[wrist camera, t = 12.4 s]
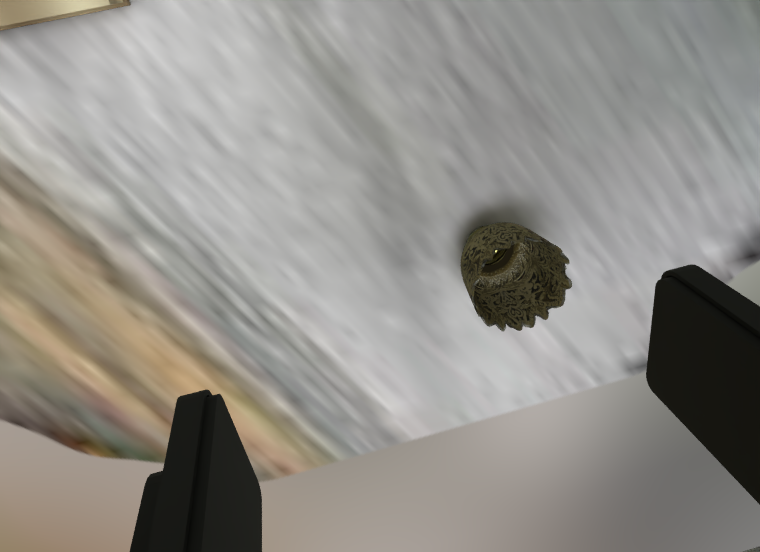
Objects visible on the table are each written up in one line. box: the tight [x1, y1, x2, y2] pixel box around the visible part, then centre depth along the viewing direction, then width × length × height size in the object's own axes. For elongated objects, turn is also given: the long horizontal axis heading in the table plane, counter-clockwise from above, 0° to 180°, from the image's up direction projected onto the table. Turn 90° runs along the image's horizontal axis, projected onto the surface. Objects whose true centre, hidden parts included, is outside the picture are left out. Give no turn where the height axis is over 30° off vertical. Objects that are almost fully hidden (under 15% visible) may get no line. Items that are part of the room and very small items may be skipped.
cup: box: [461, 223, 572, 331], centre depth 42 cm, size 8×7×8 cm
